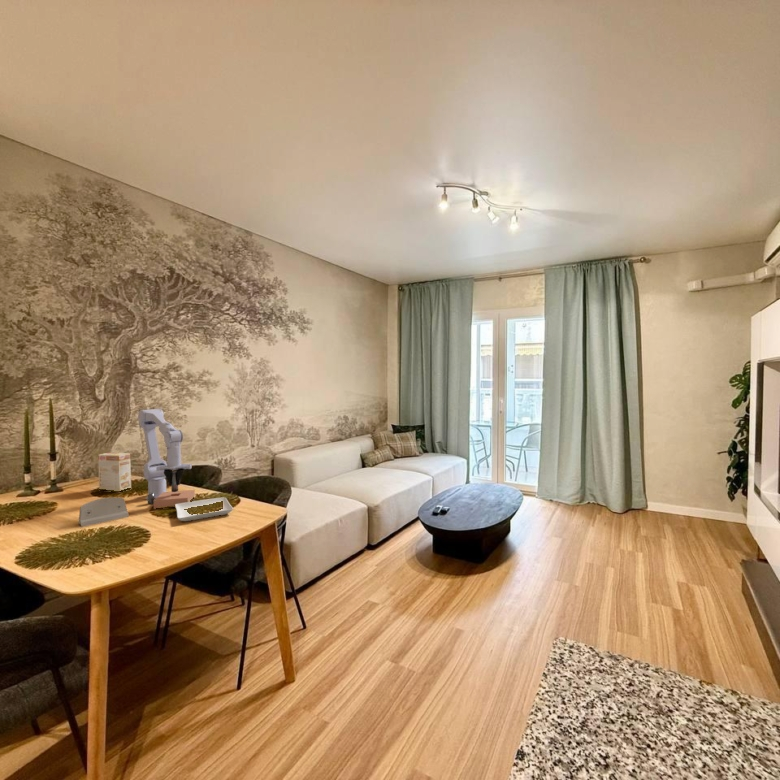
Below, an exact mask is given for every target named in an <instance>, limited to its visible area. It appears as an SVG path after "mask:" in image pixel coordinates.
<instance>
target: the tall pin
mask: <svg viewBox="0 0 780 780" xmlns="http://www.w3.org/2000/svg"><path fill="white" fill-rule="evenodd" d="M170 487H171V488H170V489H171V491H170V492H177V491H179V485H177V472H176V471H172V472H171V486H170Z"/></svg>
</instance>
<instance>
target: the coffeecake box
mask: <svg viewBox="0 0 780 780" xmlns="http://www.w3.org/2000/svg"><path fill="white" fill-rule="evenodd" d="M97 456H98V457H97V458H98V459H97V461H98V485H99V486H98V490H99V489H106V490H114V491H121V490H124V489H127V488H131V489H132V471H131V469H132V467H131V466H132V465H131V453H129V452H128V453H127V452H126V453H125V452H106V453H105V452H104V453H100V454H97Z"/></svg>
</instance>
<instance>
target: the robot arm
mask: <svg viewBox="0 0 780 780" xmlns="http://www.w3.org/2000/svg"><path fill="white" fill-rule="evenodd" d="M164 415H165V414H164V411H163V409H161V408H152V409H151V408H150V409H140V410H139V411H138V414H137V419H138V423H139V424H138V425H139V427H140V428H142V429H143V433H144V439H145V443H146V444H145V445H146V450H147V451H146V452H147V455H148V456H147V457H148V461H147V462H146V463H145V464H144V465H143V478H144V479H145V480H147V486H148V487H147V490H148V491H147V493H148V494H151V493H154V499H156V498H157V497H158V496H159V495H160V494H161V493H163V492H168V491H167V482H168V485H169V487H171V472H173V471H175V472H177V485H178V486H180V485H181V481H182V477H183V474H184V472H185V470H191V469H192V464H191V463H187V464H186V463H185V464H184V463H182V455H181V453H182V452H181V448H182V447H181V442H183V438H184V435H183V432H182V430H180V429H176V428H175V427H174V426H173V424H171V422H170V421H166V419H165V416H164ZM156 427H158V430H159V432H160V433H161V435H163V440H164V442H165V443H164V444H165V448H166V460H164V459H163V458H161V455H160V449H159V444H158V439H157V438H158V437H157V432H156ZM145 500H148V497H147V496H146V497H145Z"/></svg>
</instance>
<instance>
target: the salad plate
mask: <svg viewBox="0 0 780 780" xmlns="http://www.w3.org/2000/svg"><path fill="white" fill-rule="evenodd" d="M221 501H223V509H221V510H219V511H215V512H209V513H203V514H198V515H197V514H193V515H191V514H189V513H188V512H187V510H184V509H188V508H191V507H197V506H203V505H209V504H213V503H216V502H221ZM175 509H176V518H177V519H178V520H179V521H181V522H191V520H193V521H197V519H199V520H204V519H209V518H208V517H210V518H215V517H220V516H219V515H221V516H224V515H228V514H230V513H231V512H233V510H234V508H233V506H232V505H231V504H230V502H229V500H228V498H226V496H225V497H224V496H222V497H215V498H214V497H213V498H209V499H207V498H206V499H201V500H193V501H192V502H186V503H179V504H175ZM214 516H215V517H214ZM203 518H204V519H203Z"/></svg>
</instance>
